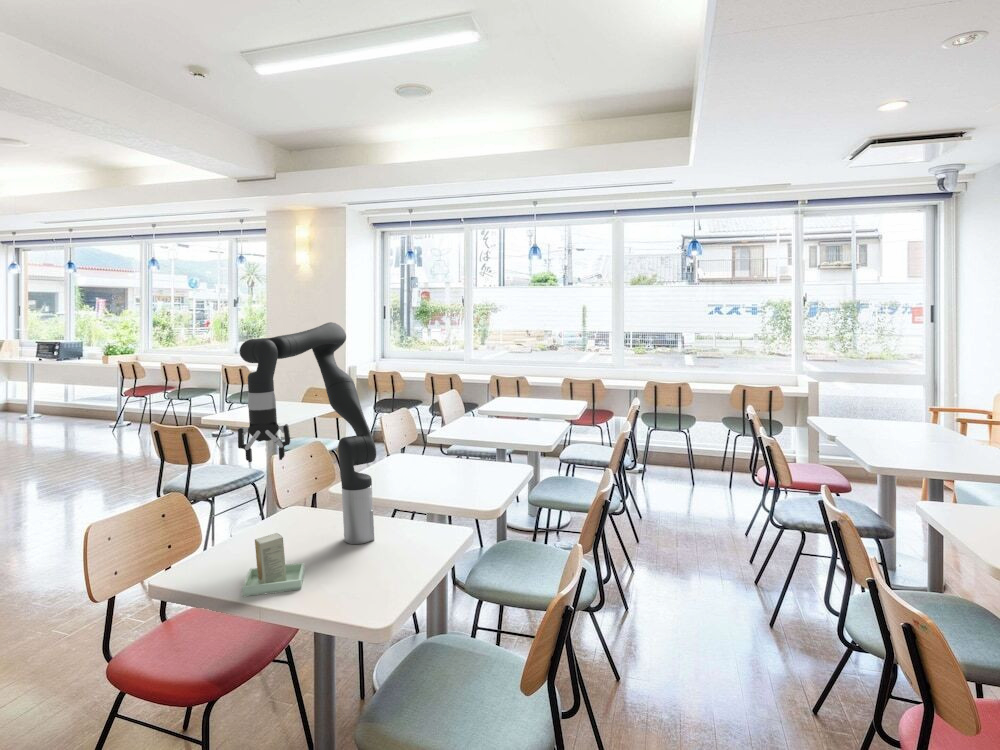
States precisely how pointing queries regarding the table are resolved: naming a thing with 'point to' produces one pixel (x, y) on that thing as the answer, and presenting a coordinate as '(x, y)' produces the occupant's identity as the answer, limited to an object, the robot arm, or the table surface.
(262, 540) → the skincare box
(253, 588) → the tray
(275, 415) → the robot arm
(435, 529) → the table surface
